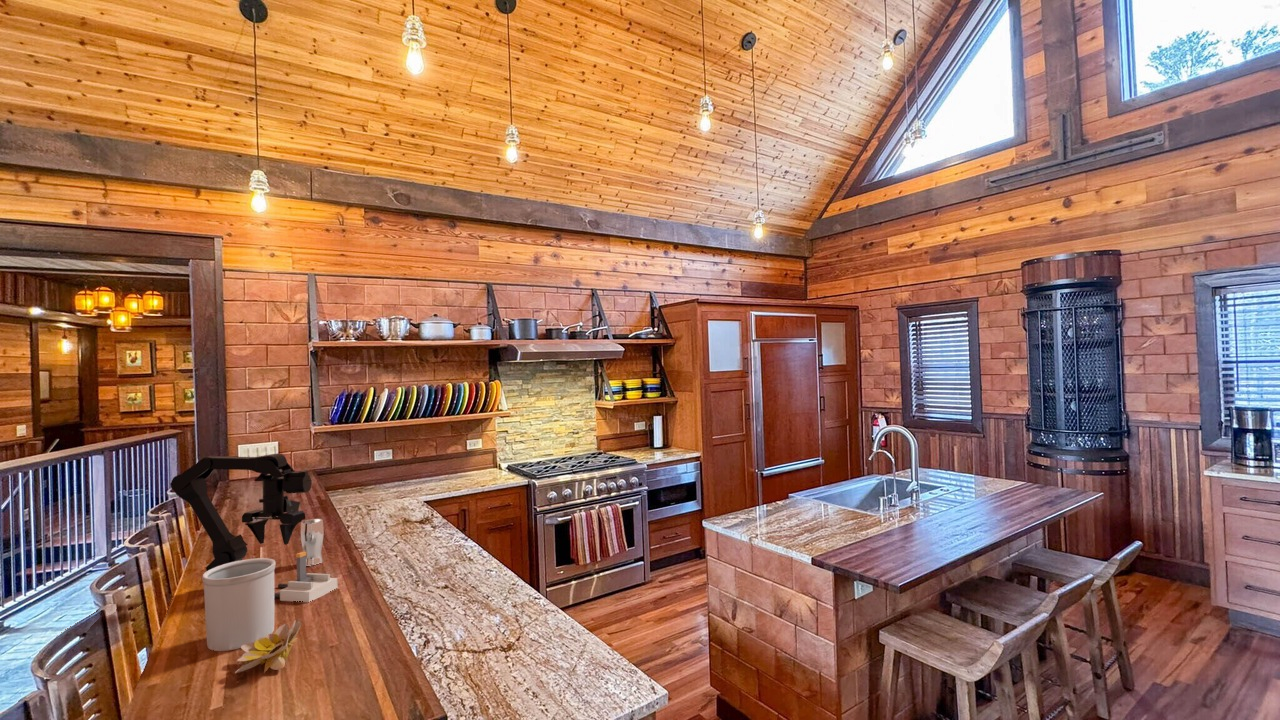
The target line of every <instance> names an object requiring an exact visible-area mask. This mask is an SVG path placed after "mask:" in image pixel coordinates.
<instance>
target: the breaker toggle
mask: <svg viewBox="0 0 1280 720" xmlns="http://www.w3.org/2000/svg"><path fill="white" fill-rule="evenodd" d="M295 558H296V580H295V581H300V582H309V581H311V580H312V577H306V574H307V567H306V552H303V551H301V552H298V553H296V554H295Z"/></svg>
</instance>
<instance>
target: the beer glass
mask: <svg viewBox="0 0 1280 720" xmlns="http://www.w3.org/2000/svg"><path fill="white" fill-rule="evenodd" d="M300 523H301V524H300V541H301V547H302V552H306V566H310V567H312V566H311V565H316V564H319V563H321V564H322V563H323V555H322V548H323V542H324V535H325V534H324V519H323V518H310V519H304V520H302V521H301V522H300ZM319 565H320V564H319ZM316 566H317V565H316Z"/></svg>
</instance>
